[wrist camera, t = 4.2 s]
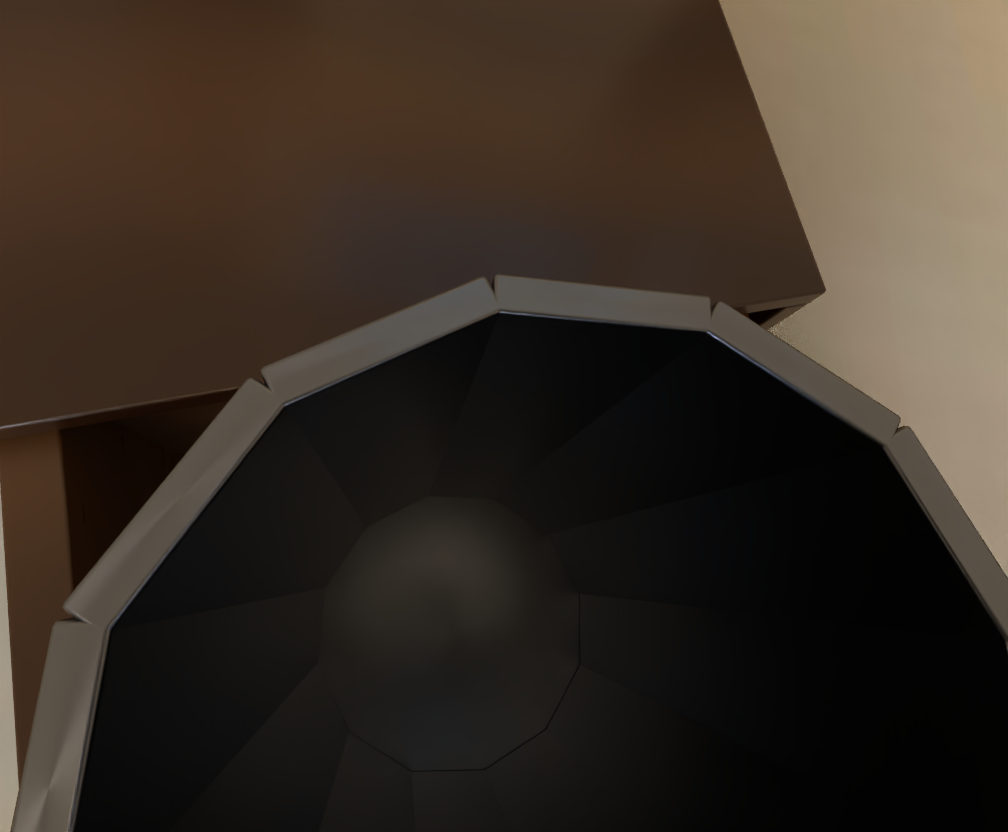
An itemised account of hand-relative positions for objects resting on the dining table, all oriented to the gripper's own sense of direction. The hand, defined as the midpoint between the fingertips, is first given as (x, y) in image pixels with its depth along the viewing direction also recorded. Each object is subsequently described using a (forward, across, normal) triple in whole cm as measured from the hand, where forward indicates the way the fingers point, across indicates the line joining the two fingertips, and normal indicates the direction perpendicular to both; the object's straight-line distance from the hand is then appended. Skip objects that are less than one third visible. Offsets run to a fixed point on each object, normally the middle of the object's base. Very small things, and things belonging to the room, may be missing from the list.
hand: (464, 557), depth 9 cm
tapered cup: (+2, 0, +4) cm, 5 cm away
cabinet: (+11, 0, -2) cm, 11 cm away
